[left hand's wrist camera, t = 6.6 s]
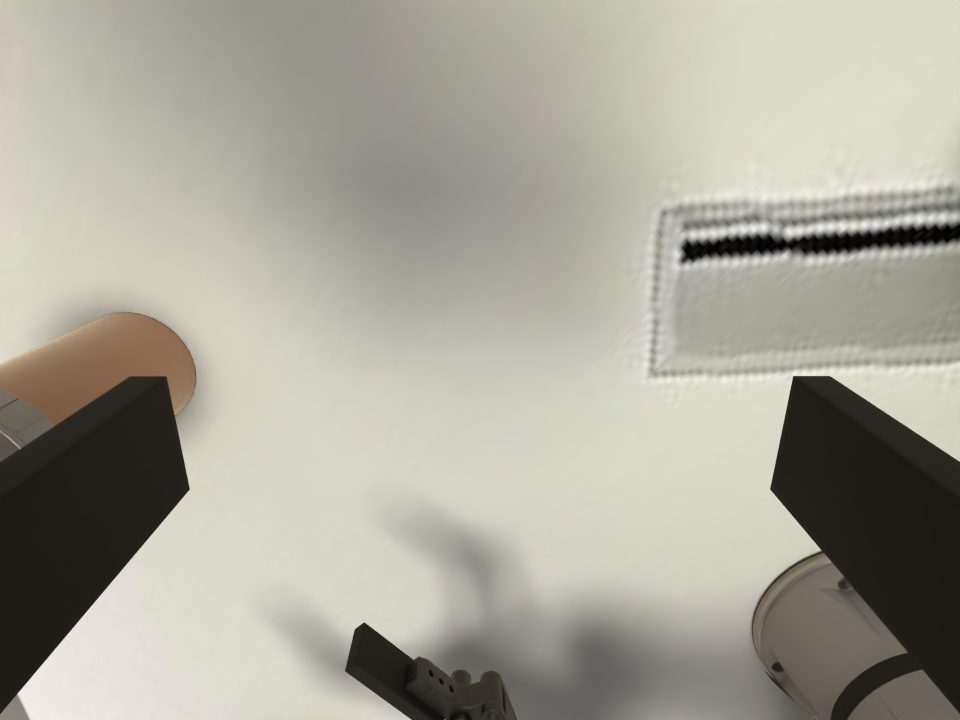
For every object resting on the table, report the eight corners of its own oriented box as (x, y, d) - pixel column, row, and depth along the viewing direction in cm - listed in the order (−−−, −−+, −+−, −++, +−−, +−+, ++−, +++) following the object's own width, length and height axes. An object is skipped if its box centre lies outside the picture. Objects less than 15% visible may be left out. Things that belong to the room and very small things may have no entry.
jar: (116, 287, 39) (-93, 371, 25) (219, 366, 41) (80, 485, 27) (55, 370, 41) (-170, 491, 27) (155, 441, 43) (-5, 588, 29)
